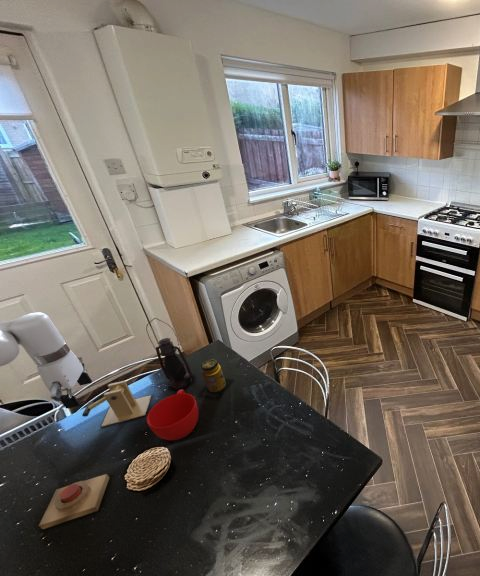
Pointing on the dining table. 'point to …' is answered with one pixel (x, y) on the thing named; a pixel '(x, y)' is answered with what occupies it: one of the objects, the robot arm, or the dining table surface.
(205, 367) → the condiment
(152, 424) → the ceramic cup
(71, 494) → the button
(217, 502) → the dining table surface
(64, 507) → the button block
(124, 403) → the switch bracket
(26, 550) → the dining table surface
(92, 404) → the lever
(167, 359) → the lantern
